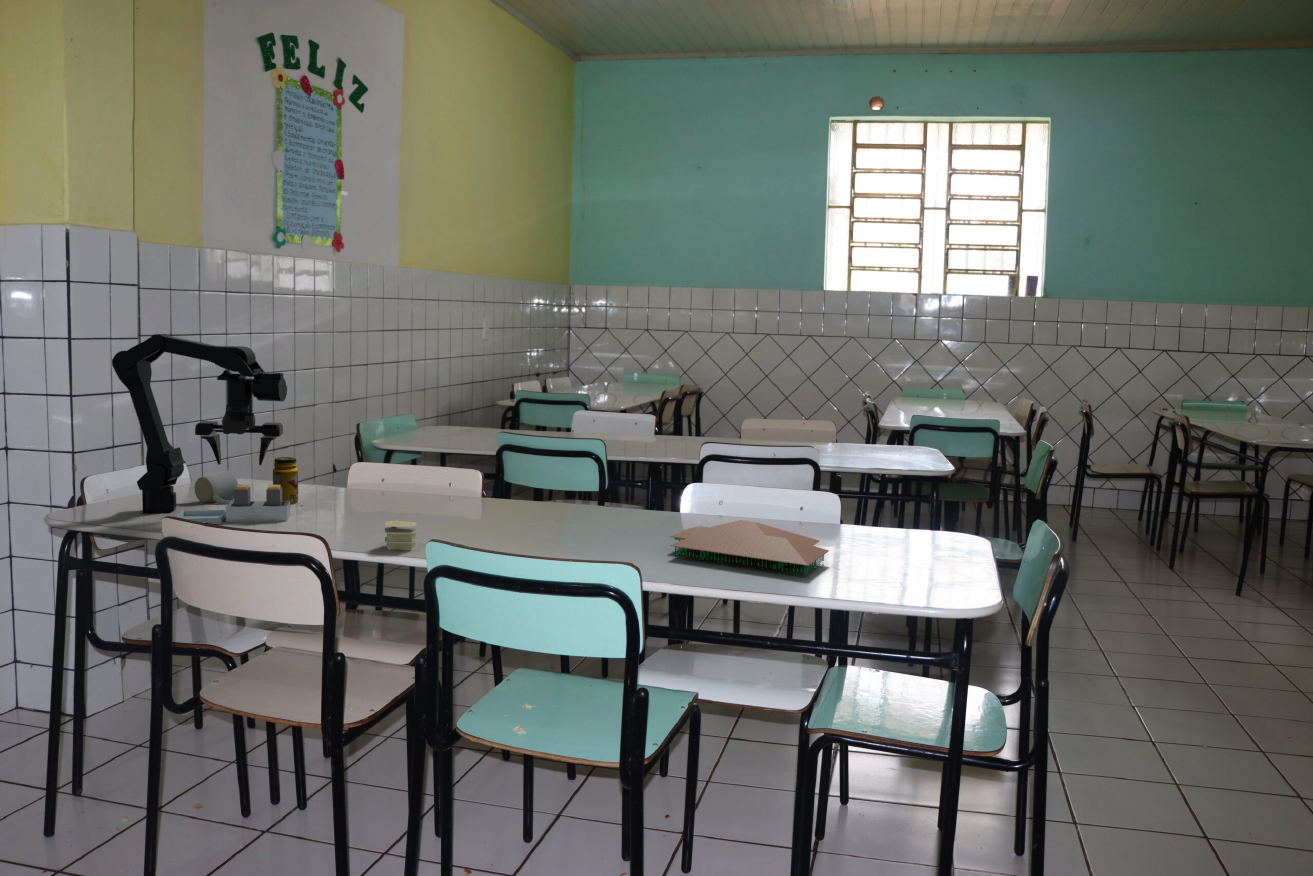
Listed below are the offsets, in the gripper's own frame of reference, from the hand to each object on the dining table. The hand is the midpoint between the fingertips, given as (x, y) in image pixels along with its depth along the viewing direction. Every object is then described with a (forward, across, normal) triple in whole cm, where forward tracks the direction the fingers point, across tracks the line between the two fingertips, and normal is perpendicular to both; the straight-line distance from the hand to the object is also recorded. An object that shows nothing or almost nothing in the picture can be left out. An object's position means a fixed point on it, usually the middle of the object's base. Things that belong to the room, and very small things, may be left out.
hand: (240, 464), depth 235 cm
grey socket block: (+12, +5, -7) cm, 15 cm away
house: (+11, +113, -49) cm, 123 cm away
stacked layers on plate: (+12, +39, -36) cm, 54 cm away
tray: (+12, -7, -7) cm, 16 cm away
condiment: (+12, +8, +12) cm, 19 cm away
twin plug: (+12, +9, -6) cm, 16 cm away
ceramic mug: (+13, -8, +16) cm, 22 cm away
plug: (+11, +2, -7) cm, 13 cm away
